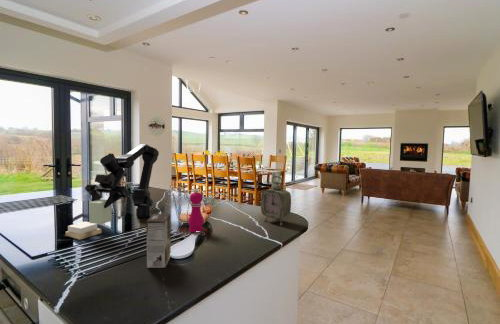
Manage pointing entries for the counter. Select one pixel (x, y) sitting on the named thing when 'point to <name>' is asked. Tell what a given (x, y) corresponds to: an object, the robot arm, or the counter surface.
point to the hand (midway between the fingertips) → (98, 207)
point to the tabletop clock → (276, 202)
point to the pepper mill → (196, 212)
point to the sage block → (99, 212)
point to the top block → (82, 227)
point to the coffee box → (158, 240)
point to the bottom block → (84, 235)
